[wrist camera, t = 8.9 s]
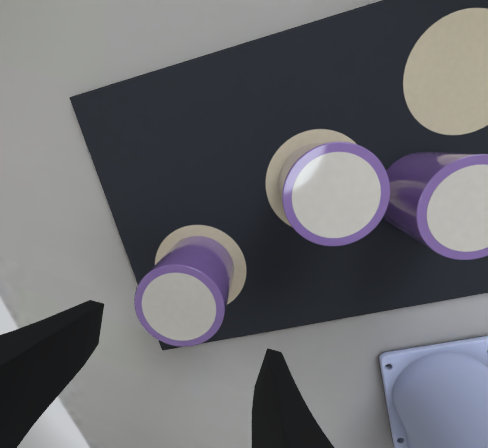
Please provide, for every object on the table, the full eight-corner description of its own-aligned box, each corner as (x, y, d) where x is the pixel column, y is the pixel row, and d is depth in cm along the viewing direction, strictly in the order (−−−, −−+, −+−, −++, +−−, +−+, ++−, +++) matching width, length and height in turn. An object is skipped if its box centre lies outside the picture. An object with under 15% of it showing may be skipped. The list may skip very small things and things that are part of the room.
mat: (553, 277, 20) (558, 280, 19) (163, 347, 24) (162, 350, 23) (551, -50, 15) (558, -55, 15) (73, 98, 19) (69, 97, 19)
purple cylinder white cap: (462, 221, 19) (534, 248, 14) (382, 237, 20) (422, 269, 15) (456, 142, 18) (531, 141, 13) (371, 163, 18) (410, 169, 13)
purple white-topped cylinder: (362, 211, 19) (397, 234, 14) (287, 228, 20) (294, 256, 15) (350, 133, 18) (382, 128, 13) (270, 153, 19) (271, 157, 14)
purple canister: (242, 293, 21) (234, 339, 16) (177, 306, 22) (150, 354, 17) (224, 228, 20) (209, 256, 15) (155, 244, 21) (120, 275, 16)
